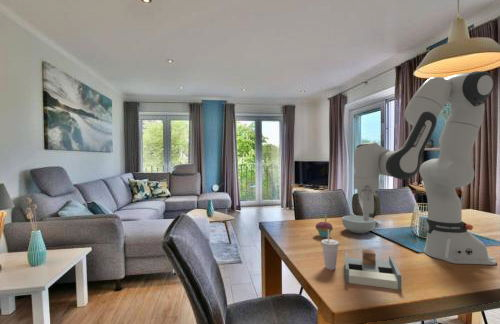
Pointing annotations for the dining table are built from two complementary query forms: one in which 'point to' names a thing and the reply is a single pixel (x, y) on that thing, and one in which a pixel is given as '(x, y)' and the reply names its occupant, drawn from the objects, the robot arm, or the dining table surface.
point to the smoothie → (330, 252)
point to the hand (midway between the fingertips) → (365, 220)
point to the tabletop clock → (358, 210)
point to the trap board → (373, 273)
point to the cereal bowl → (358, 224)
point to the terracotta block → (368, 256)
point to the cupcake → (324, 228)
